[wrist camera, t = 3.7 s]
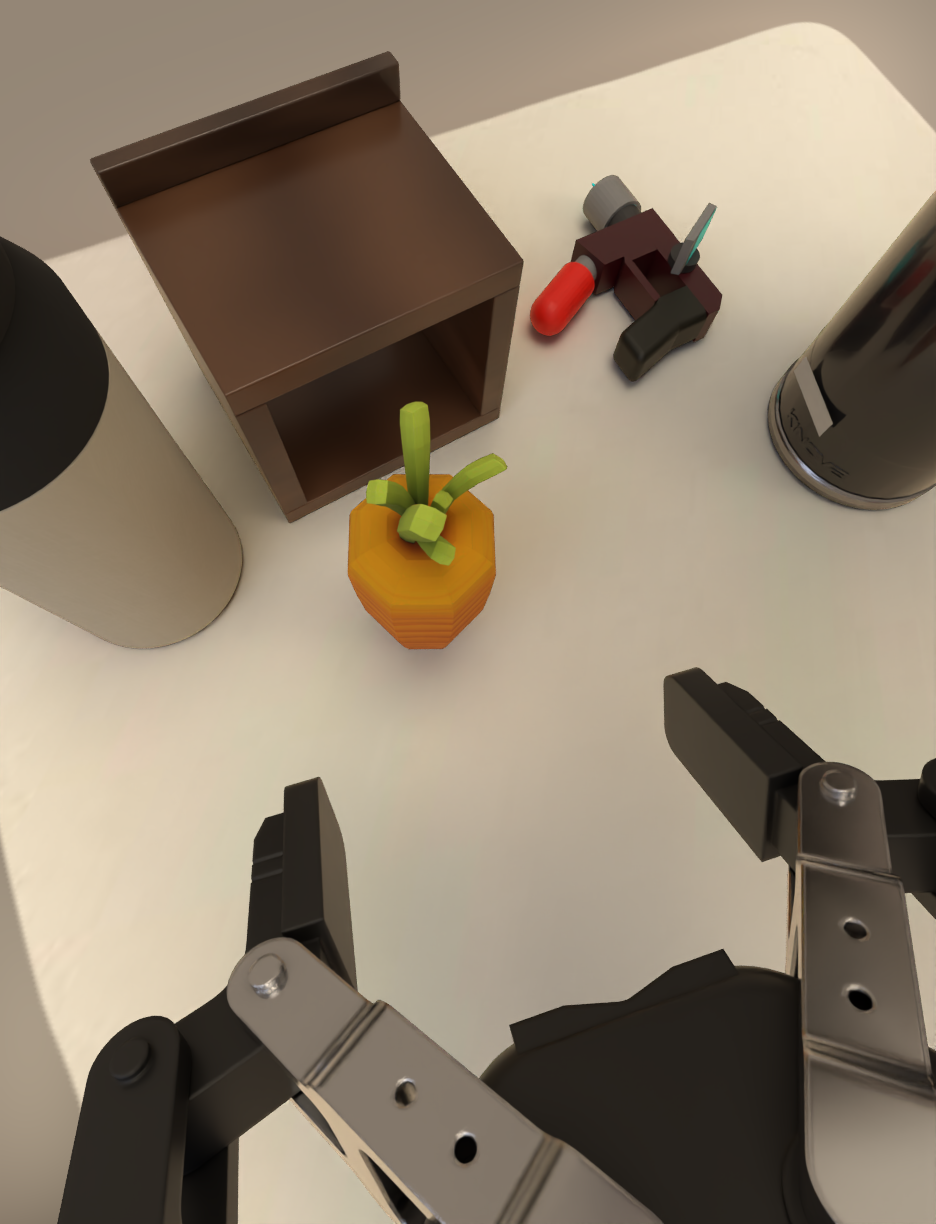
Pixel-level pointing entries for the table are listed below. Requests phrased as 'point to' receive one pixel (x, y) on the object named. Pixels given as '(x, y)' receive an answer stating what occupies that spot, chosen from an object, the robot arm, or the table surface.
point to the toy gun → (634, 278)
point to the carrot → (423, 543)
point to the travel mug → (97, 480)
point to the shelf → (324, 275)
